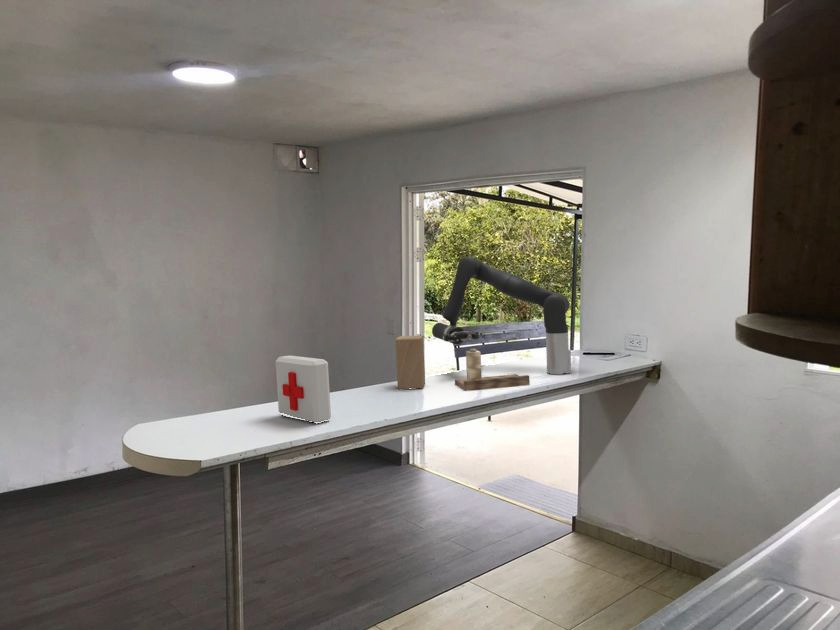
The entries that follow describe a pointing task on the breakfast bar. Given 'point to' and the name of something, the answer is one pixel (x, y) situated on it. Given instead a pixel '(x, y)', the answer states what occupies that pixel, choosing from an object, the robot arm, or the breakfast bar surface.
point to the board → (488, 386)
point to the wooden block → (410, 362)
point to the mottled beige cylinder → (473, 364)
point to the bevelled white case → (303, 388)
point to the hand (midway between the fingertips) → (465, 337)
